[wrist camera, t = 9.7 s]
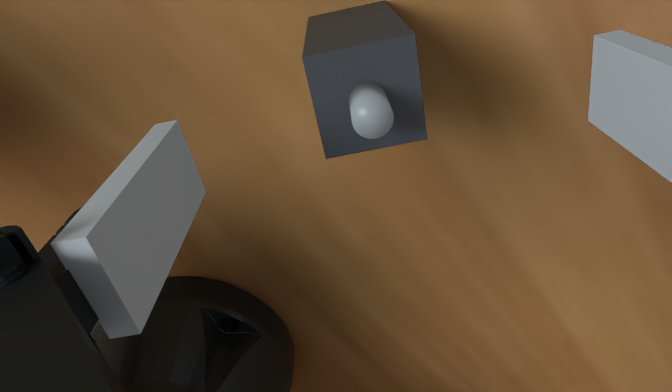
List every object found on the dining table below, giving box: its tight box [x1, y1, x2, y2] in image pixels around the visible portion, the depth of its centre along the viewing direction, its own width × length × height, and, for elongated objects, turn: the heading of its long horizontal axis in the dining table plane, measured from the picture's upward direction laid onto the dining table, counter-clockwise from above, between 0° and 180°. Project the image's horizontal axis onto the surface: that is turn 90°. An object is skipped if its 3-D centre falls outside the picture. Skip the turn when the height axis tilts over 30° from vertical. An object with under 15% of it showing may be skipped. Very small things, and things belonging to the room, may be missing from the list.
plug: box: [302, 1, 427, 159], centre depth 20 cm, size 4×4×11 cm
